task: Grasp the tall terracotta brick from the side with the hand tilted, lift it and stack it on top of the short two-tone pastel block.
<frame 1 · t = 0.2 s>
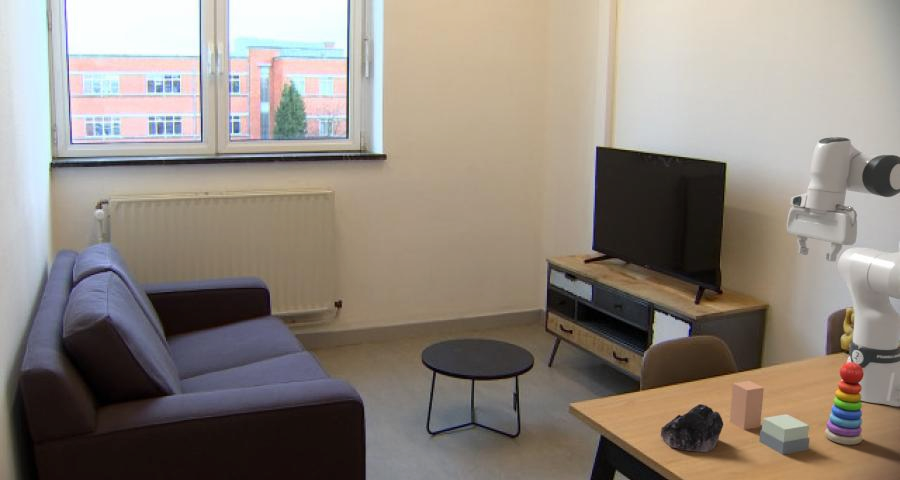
hand: (816, 257, 218), 39 cm above the table, fingers open, 8 cm apart
decorative figurine: (856, 354, 269), on the table
terracotta brick: (744, 424, 213), on the table
crystal cluster: (690, 443, 202), on the table
two-tone pastel block: (783, 446, 201), on the table
stacking toy: (842, 440, 205), on the table
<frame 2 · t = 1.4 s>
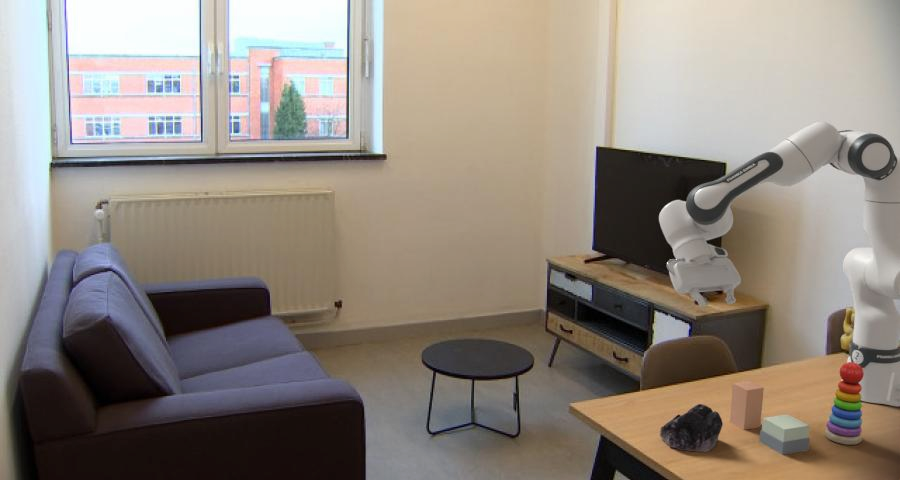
hand: (718, 304, 218), 27 cm above the table, fingers open, 8 cm apart
nothing on the table moved.
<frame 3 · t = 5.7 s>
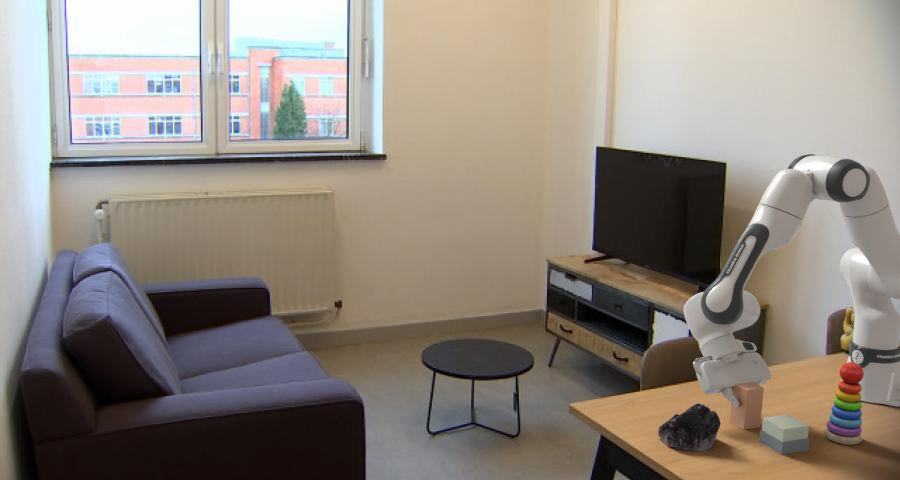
hand: (748, 404, 211), 5 cm above the table, fingers closed on terracotta brick, 5 cm apart
terracotta brick: (744, 424, 213), on the table, touching gripper
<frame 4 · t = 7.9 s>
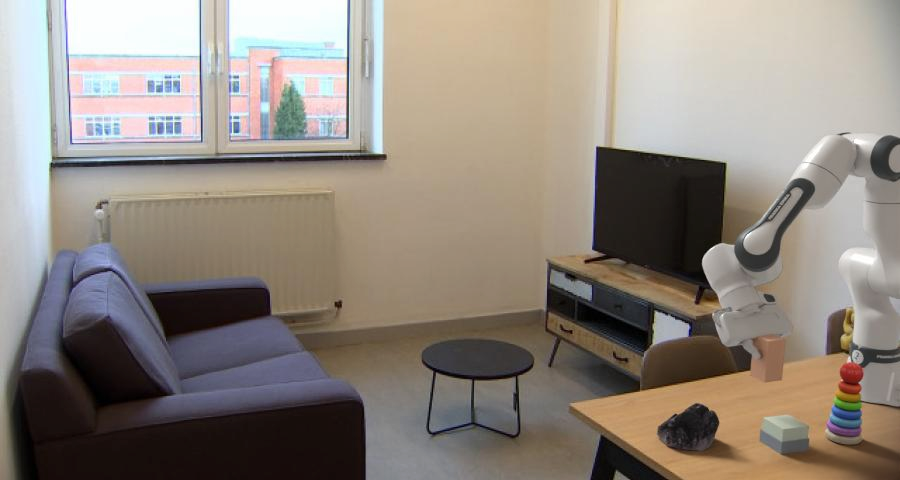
hand: (770, 356, 203), 19 cm above the table, fingers closed on terracotta brick, 5 cm apart
terracotta brick: (765, 377, 205), point 14 cm above the table, touching gripper
when the fingers open (13 cm above the table, at t = 10.3 s): terracotta brick drops 2 cm, resting on two-tone pastel block.
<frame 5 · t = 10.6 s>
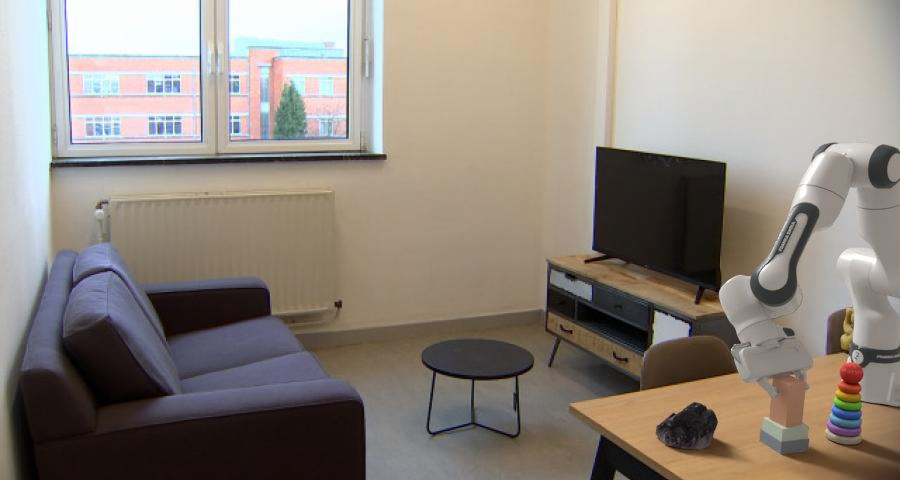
hand: (790, 393, 198), 13 cm above the table, fingers open, 8 cm apart
terracotta brick: (785, 421, 200), point 6 cm above the table, touching two-tone pastel block
two-tone pastel block: (783, 446, 201), on the table, touching terracotta brick
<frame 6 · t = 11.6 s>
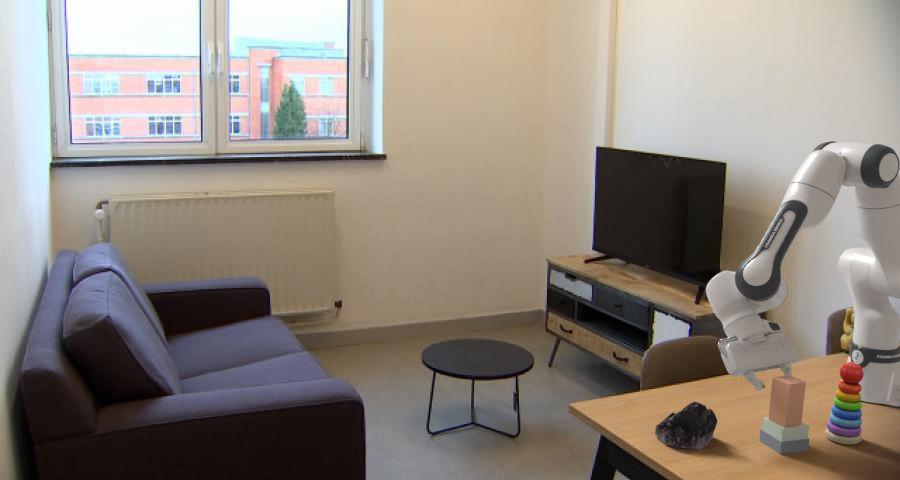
hand: (776, 386, 202), 13 cm above the table, fingers open, 8 cm apart
terracotta brick: (784, 421, 200), point 6 cm above the table
two-tone pastel block: (783, 446, 201), on the table
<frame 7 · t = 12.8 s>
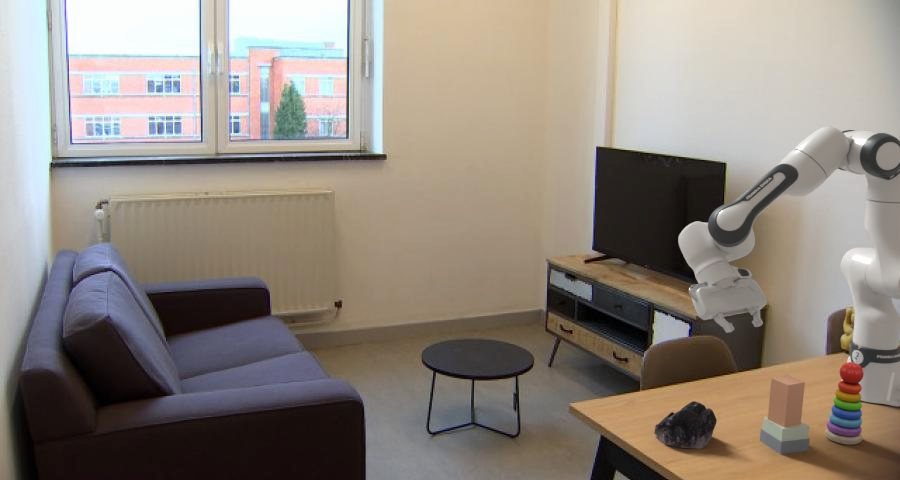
hand: (745, 328, 211), 23 cm above the table, fingers open, 8 cm apart
terracotta brick: (784, 421, 200), point 6 cm above the table, touching two-tone pastel block
two-tone pastel block: (783, 446, 201), on the table, touching terracotta brick
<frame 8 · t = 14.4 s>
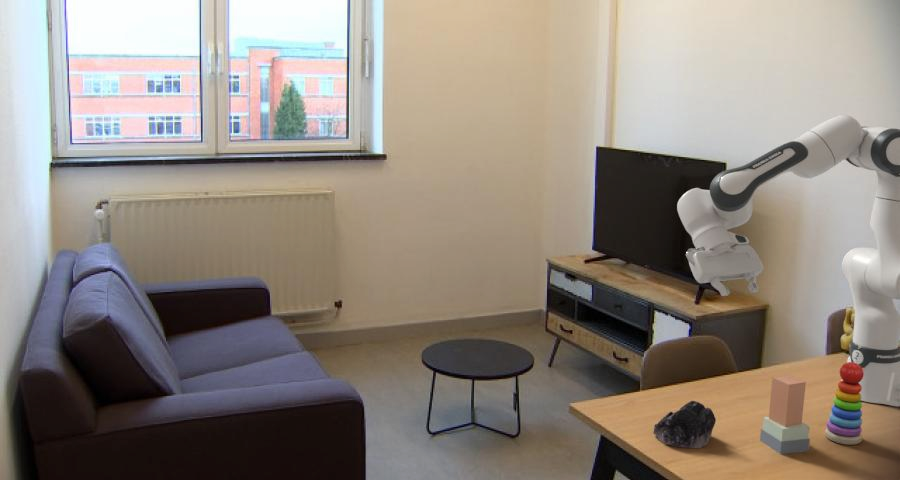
hand: (741, 292, 213), 31 cm above the table, fingers open, 8 cm apart
terracotta brick: (785, 421, 200), point 6 cm above the table
two-tone pastel block: (783, 446, 201), on the table
at the end: terracotta brick 0.2 cm off-centre on the two-tone pastel block, point 6.1 cm above the two-tone pastel block's base; terracotta brick tilted 1°; the gripper is holding nothing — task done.
